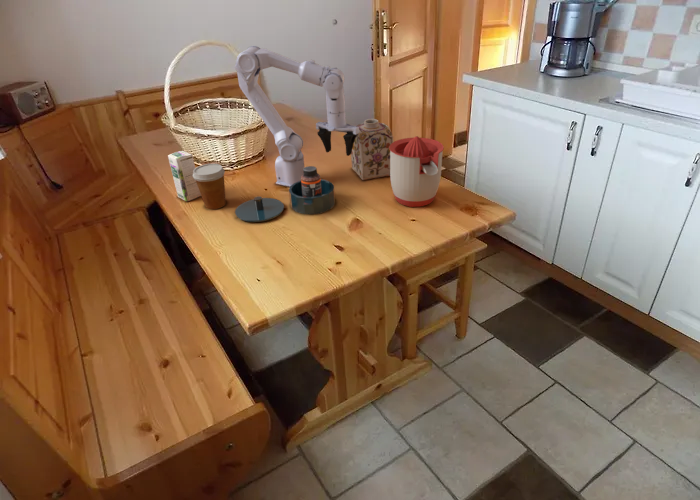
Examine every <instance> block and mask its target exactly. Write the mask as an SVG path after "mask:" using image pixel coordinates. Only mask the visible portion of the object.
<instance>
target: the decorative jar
mask: <svg viewBox="0 0 700 500" xmlns="http://www.w3.org/2000/svg"><path fill="white" fill-rule="evenodd" d="M356 126H357V127H359V133H358V134H357V136H356V138H355V141H354V144H353V148H352V153H351V154H350V160H351V169H352V170H353V172H355V173H356V174H357V176H358V177H359V178H360V179H361V181H366V180H371V179H378V178H383V177H389V176H390V149H389V147H390V145H391V144H392V143H393V142H394V136H393V132H392V131H391V128H390V126H389V125H387V124H386V123H384V122H379V120H378V119H376V118H368V119H365V120H364V122H362V123H359V124H357V125H356Z"/></svg>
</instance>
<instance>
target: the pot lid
mask: <svg viewBox="0 0 700 500" xmlns="http://www.w3.org/2000/svg"><path fill="white" fill-rule="evenodd" d="M284 210H285V204H284V203H283V202H282V201H281V200H279V199H277V198H273V197H272V198H271V197H262V196H258V195H257V196H254V197H253V199H249V200H247V201H244V202H242V203H240V204H239V205H238V206H237V207H236V208H235V209H234V214H235V217H236V218H238V219H239V220H240V221H243V222H249V223H259V222H260V223H261V222H267V221H270V220H273V219H275V218H277V217H278V216H280V215H281V214H282V213H283V212H284Z"/></svg>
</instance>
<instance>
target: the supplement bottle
mask: <svg viewBox="0 0 700 500" xmlns="http://www.w3.org/2000/svg"><path fill="white" fill-rule="evenodd" d="M303 173H304V174H303V175H302V176H301V185H302V195H303V197H315V196H320V195H322V190H321V179H322V177H321V175H320V174H319V173H318V169H317V167H316V166H313V165H309V166H308V165H307V166H305V168H304V169H303Z"/></svg>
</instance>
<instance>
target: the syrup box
mask: <svg viewBox="0 0 700 500" xmlns="http://www.w3.org/2000/svg"><path fill="white" fill-rule="evenodd" d="M167 159H168V163H169V166H170V170H171V175H172V179H173V183H174V187H175V190H176V195H177V198H180V199H181V200H183V201H185V202H189V201H192V200H195V199H197V198H199V197H202V196H201V193H200V191H199V188H198V186H197V183H196V180H195V179H194V178H193V176H192V175H193V170H194V169H195V168H196V165H195V160H194V156H193V154H192V153H189V152H188V151H184V150H179V151H175V152H173V153H170V154H168V155H167Z"/></svg>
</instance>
